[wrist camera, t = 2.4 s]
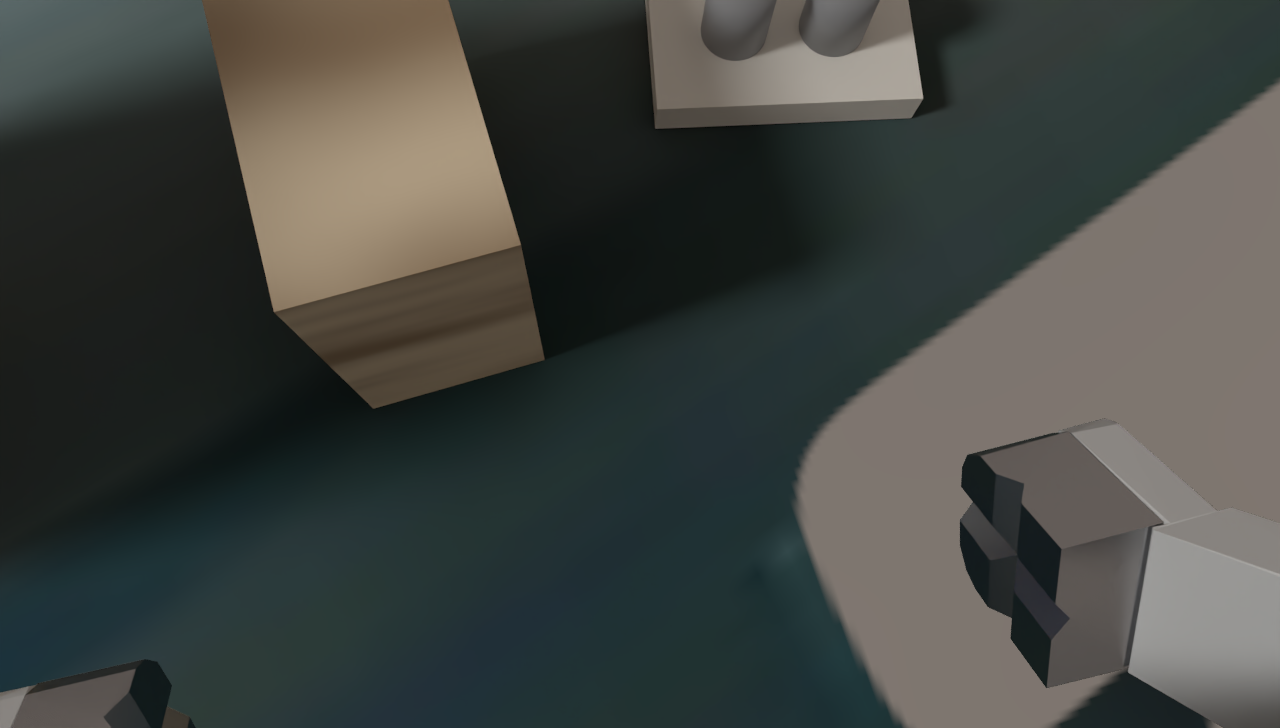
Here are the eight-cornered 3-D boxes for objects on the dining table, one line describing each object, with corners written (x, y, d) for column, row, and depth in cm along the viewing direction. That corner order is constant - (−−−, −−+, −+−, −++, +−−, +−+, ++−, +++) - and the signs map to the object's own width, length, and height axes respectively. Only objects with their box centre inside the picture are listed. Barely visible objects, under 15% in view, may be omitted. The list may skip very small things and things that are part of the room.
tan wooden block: (544, 360, 29) (521, 245, 20) (374, 408, 28) (273, 311, 20) (456, 62, 31) (401, -156, 23) (297, 102, 31) (177, -106, 22)
